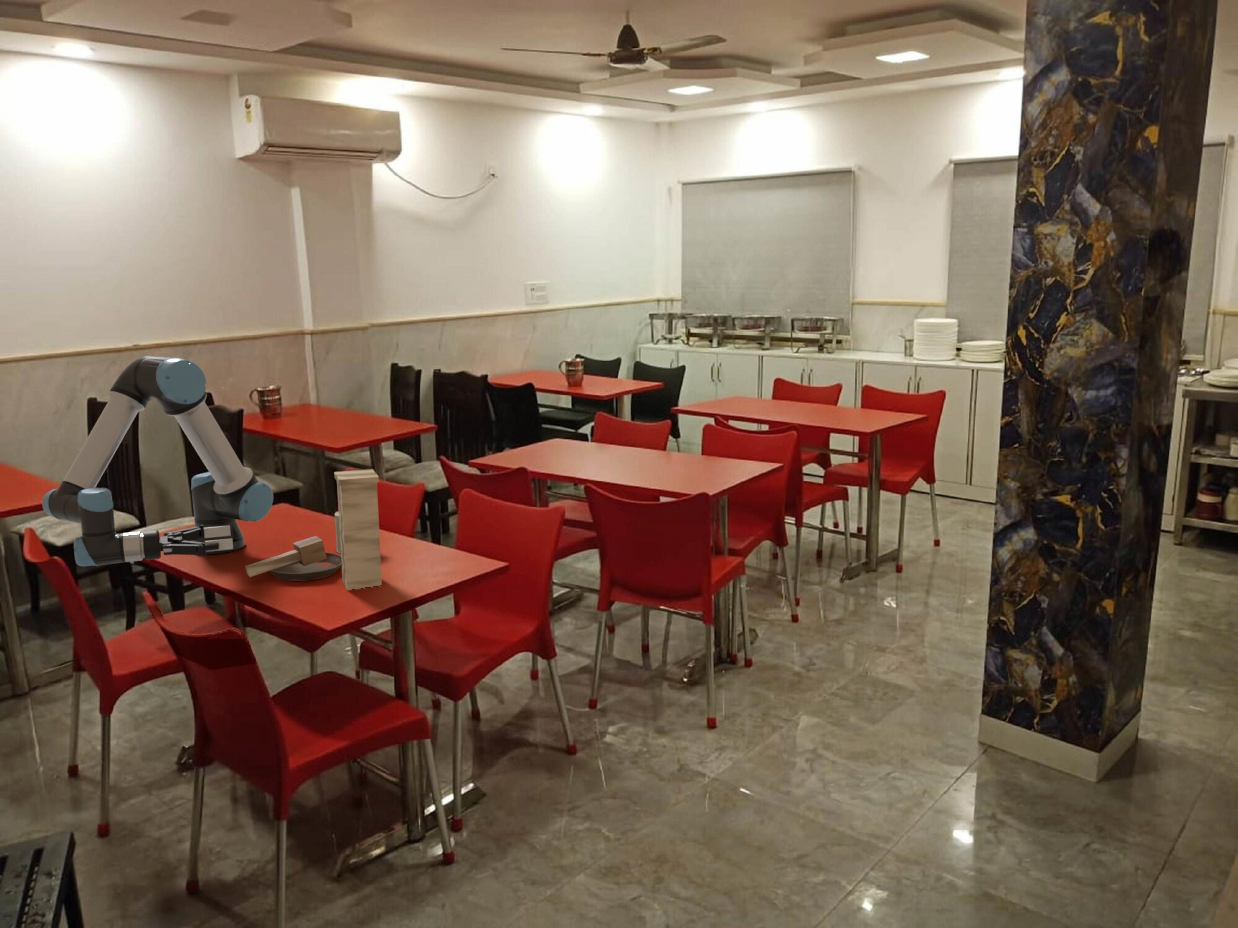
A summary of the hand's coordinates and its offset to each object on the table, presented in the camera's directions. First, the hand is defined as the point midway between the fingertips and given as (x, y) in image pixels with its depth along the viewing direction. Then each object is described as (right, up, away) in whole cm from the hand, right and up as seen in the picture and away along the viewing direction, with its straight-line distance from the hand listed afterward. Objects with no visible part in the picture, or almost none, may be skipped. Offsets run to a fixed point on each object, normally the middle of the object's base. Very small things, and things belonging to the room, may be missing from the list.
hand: (231, 536), depth 262 cm
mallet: (+12, -9, +8) cm, 17 cm away
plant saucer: (+16, -11, +13) cm, 23 cm away
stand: (+34, -13, +3) cm, 36 cm away
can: (+23, -7, +33) cm, 41 cm away
